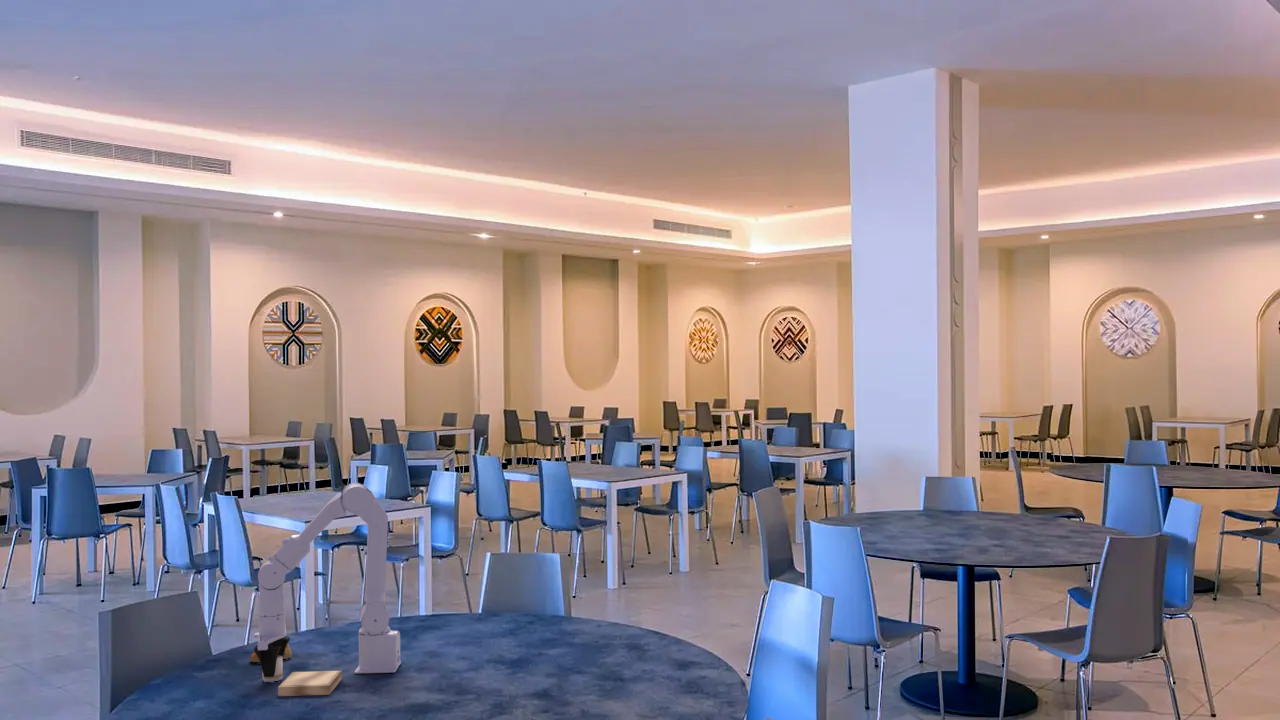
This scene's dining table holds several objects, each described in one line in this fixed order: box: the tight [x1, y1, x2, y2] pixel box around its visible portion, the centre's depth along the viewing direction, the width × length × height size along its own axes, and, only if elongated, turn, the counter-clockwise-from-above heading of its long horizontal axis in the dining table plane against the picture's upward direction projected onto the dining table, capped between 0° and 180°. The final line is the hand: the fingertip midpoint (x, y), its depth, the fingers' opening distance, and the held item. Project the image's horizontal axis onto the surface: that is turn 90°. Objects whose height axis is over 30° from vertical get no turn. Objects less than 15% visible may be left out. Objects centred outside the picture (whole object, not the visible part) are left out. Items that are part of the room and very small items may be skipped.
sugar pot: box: [261, 655, 284, 682], centre depth 233 cm, size 4×4×5 cm
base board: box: [277, 670, 343, 697], centre depth 226 cm, size 11×11×2 cm
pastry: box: [249, 643, 293, 663], centre depth 250 cm, size 9×7×4 cm
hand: (272, 673), depth 233 cm, fingers closed on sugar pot, 4 cm apart
